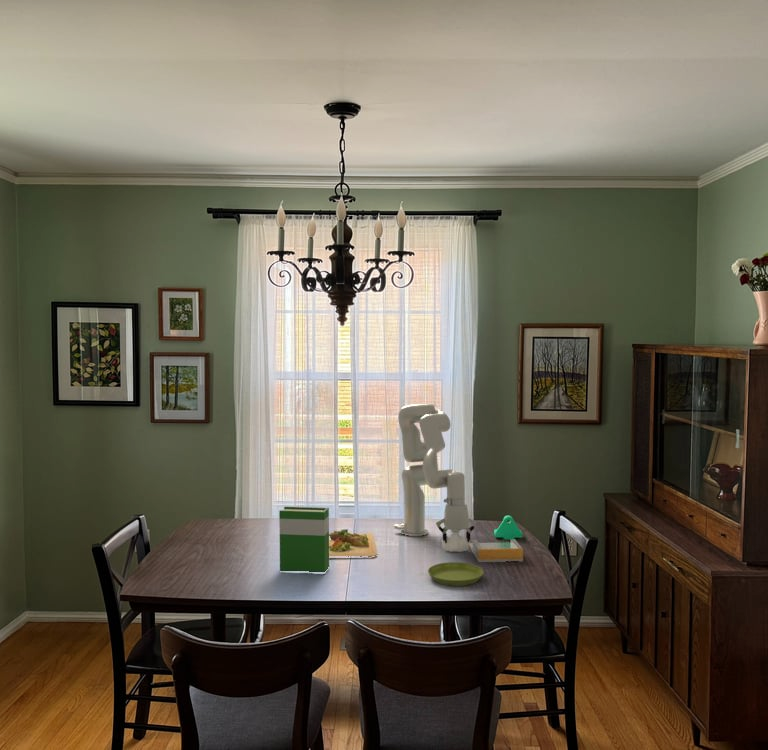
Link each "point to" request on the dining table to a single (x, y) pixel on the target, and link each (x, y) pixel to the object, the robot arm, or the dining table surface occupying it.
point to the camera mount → (508, 529)
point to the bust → (455, 542)
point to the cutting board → (351, 544)
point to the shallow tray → (497, 551)
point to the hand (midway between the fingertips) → (456, 541)
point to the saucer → (455, 573)
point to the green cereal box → (304, 539)
